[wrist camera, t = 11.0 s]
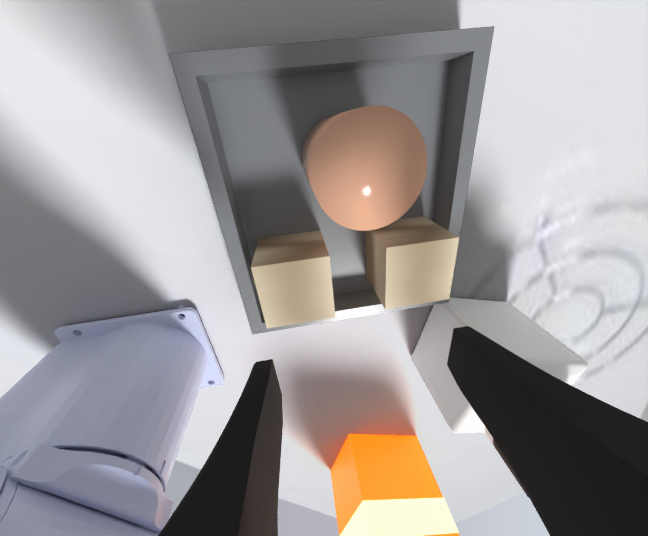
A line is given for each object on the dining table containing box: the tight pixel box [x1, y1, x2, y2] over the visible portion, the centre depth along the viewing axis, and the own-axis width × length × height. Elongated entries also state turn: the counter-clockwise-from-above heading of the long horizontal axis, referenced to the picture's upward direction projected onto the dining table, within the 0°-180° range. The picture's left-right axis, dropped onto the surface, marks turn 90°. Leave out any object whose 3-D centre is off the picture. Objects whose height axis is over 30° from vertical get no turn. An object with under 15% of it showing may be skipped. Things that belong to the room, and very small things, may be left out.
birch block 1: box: [251, 230, 335, 329], centre depth 16 cm, size 4×4×4 cm
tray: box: [169, 26, 494, 334], centre depth 16 cm, size 14×15×2 cm
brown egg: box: [302, 105, 428, 231], centre depth 12 cm, size 4×4×6 cm
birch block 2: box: [366, 216, 459, 309], centre depth 16 cm, size 4×4×4 cm
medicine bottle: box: [411, 297, 588, 497], centre depth 18 cm, size 7×7×12 cm
